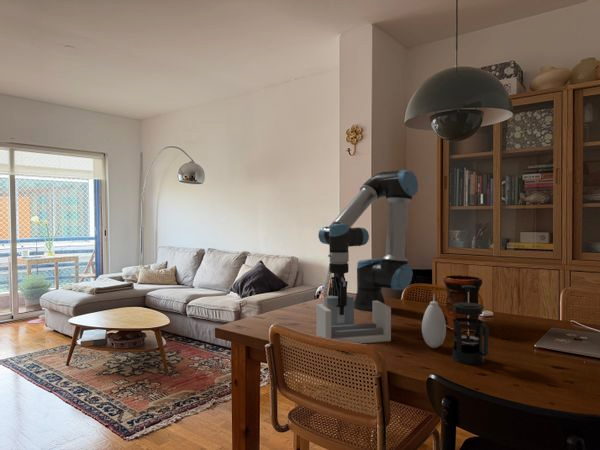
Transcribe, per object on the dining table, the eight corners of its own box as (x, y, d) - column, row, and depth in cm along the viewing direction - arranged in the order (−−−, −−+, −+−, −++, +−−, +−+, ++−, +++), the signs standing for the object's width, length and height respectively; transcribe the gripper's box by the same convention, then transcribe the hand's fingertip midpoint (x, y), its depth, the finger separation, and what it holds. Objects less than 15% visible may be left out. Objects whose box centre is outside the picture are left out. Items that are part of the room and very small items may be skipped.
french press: (443, 357, 135) (444, 284, 135) (463, 352, 140) (463, 281, 140) (476, 369, 125) (477, 290, 125) (496, 362, 130) (496, 287, 130)
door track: (377, 331, 165) (377, 300, 164) (390, 340, 153) (390, 307, 153) (316, 336, 159) (316, 303, 159) (325, 346, 148) (325, 311, 147)
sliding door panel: (351, 324, 175) (350, 295, 174) (354, 327, 171) (354, 296, 171) (324, 326, 172) (324, 296, 172) (327, 329, 169) (327, 298, 168)
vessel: (435, 323, 176) (436, 274, 175) (466, 322, 179) (468, 274, 178) (454, 333, 162) (456, 280, 161) (488, 331, 165) (490, 279, 164)
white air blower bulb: (421, 349, 143) (421, 295, 142) (421, 342, 150) (421, 291, 150) (446, 351, 141) (446, 296, 140) (445, 344, 148) (445, 292, 148)
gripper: (324, 260, 178) (324, 317, 179) (336, 265, 162) (336, 327, 163) (341, 260, 180) (341, 315, 181) (355, 264, 164) (355, 326, 164)
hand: (339, 321), depth 172 cm, fingers closed on sliding door panel, 3 cm apart
